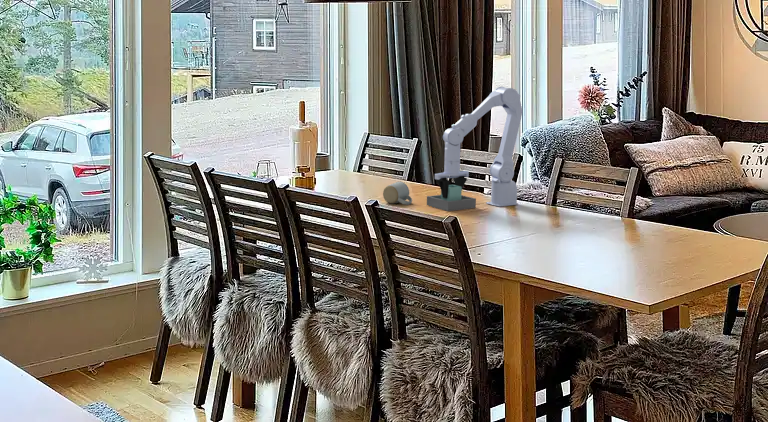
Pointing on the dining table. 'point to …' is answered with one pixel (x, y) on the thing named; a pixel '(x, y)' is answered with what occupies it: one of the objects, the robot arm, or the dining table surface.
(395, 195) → the ceramic mug
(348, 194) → the dining table surface
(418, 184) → the dining table surface
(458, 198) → the small crate
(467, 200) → the big crate
